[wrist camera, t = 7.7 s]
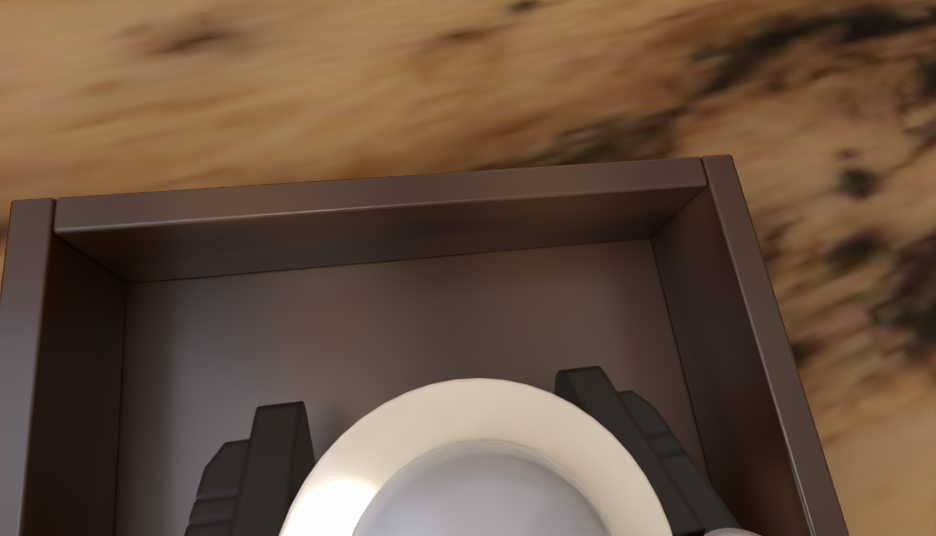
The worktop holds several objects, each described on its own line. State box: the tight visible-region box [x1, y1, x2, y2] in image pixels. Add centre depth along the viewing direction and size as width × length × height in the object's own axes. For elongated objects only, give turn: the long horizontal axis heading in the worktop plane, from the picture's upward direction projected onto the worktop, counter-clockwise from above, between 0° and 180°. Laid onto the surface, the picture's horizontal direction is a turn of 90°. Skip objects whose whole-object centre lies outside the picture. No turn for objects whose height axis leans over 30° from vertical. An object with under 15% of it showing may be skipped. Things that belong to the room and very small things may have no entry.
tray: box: [0, 154, 849, 536], centre depth 12 cm, size 16×15×4 cm
